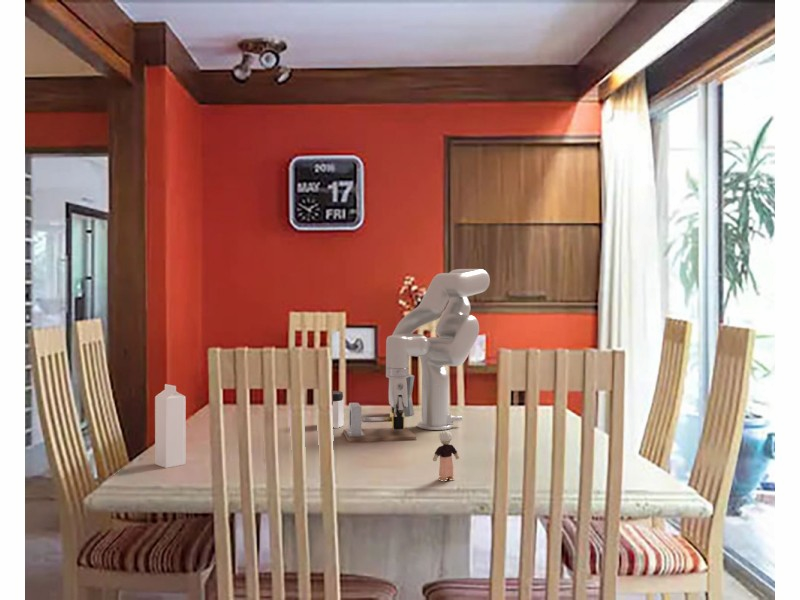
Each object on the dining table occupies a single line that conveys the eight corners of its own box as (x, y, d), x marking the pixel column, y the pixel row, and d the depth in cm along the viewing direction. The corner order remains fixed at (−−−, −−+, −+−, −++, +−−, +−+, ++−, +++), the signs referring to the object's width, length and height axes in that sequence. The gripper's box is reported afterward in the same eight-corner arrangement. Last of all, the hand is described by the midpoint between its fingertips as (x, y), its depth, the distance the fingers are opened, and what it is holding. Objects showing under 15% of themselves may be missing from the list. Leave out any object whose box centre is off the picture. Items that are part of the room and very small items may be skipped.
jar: (347, 426, 256) (348, 392, 256) (328, 429, 251) (328, 394, 251) (333, 423, 263) (333, 389, 263) (314, 425, 258) (314, 391, 258)
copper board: (407, 430, 251) (407, 427, 251) (416, 439, 236) (416, 436, 236) (343, 432, 246) (343, 429, 246) (348, 442, 232) (348, 438, 232)
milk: (174, 460, 206) (175, 382, 206) (185, 464, 202) (186, 385, 201) (154, 464, 201) (154, 384, 201) (165, 468, 197) (166, 386, 197)
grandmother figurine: (450, 476, 192) (450, 427, 191) (460, 479, 189) (461, 430, 189) (428, 481, 187) (429, 431, 186) (439, 484, 184) (439, 434, 183)
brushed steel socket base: (360, 430, 245) (360, 402, 245) (364, 436, 235) (364, 407, 235) (345, 431, 244) (345, 402, 244) (349, 437, 234) (349, 407, 234)
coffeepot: (390, 411, 288) (391, 365, 288) (414, 411, 288) (415, 366, 287) (388, 418, 273) (388, 370, 272) (413, 418, 272) (414, 370, 272)
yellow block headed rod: (401, 424, 245) (401, 410, 245) (404, 427, 240) (404, 412, 240) (360, 425, 242) (360, 411, 242) (362, 428, 238) (362, 414, 238)
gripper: (413, 375, 234) (413, 432, 235) (403, 369, 251) (403, 422, 251) (390, 376, 233) (390, 433, 233) (381, 369, 249) (381, 422, 250)
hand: (397, 426), depth 242 cm, fingers closed on yellow block headed rod, 4 cm apart
